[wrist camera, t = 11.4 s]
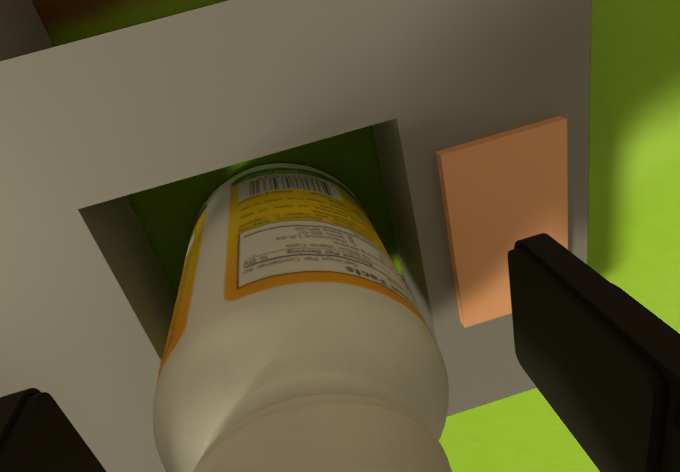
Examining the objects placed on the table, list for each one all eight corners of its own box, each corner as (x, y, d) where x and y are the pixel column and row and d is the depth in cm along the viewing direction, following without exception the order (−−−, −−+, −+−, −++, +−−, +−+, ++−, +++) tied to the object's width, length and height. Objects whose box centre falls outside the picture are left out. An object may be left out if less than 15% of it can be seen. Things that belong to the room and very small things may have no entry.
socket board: (479, -791, 7) (633, -1298, 5) (534, 316, 18) (591, 378, 15) (-626, -589, 7) (-1308, -1050, 4) (107, 449, 17) (80, 543, 14)
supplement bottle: (295, 119, 13) (395, 346, 5) (399, 250, 16) (589, 555, 7) (148, 237, 14) (2, 620, 5) (269, 344, 16) (301, 723, 8)
